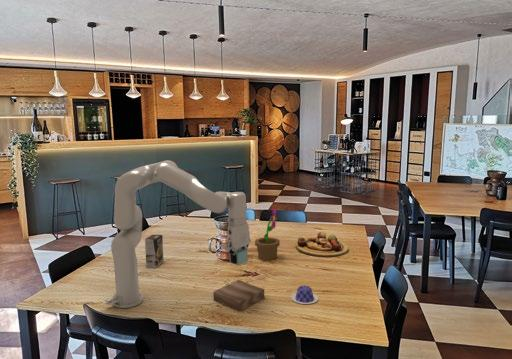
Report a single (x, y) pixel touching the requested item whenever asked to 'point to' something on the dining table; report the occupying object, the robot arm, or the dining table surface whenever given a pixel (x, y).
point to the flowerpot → (268, 243)
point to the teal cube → (241, 256)
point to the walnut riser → (238, 295)
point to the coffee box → (154, 251)
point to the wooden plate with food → (322, 246)
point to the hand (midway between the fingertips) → (238, 260)
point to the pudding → (304, 295)
